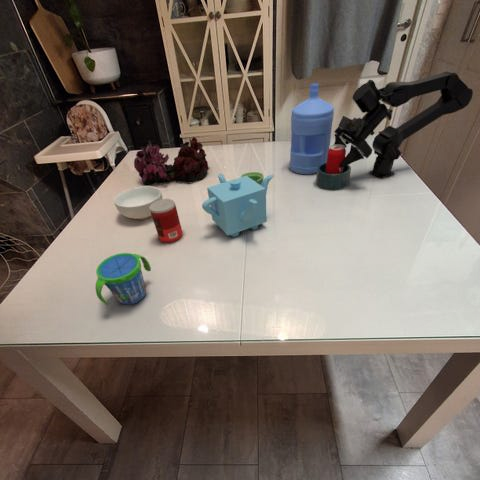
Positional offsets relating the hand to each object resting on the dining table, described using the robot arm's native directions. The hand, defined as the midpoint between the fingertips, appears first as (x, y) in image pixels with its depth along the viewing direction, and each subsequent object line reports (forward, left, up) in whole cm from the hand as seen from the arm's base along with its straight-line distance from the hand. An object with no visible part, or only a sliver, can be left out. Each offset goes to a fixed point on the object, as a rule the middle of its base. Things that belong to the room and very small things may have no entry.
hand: (334, 162), depth 108 cm
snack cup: (+82, +26, -8) cm, 86 cm away
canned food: (+65, +3, -8) cm, 65 cm away
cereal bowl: (+70, -18, -8) cm, 72 cm away
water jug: (-1, -18, -8) cm, 20 cm away
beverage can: (0, 0, -7) cm, 7 cm away
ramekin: (+27, -14, -8) cm, 31 cm away
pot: (0, 0, -7) cm, 7 cm away
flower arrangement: (+51, -43, -8) cm, 67 cm away
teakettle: (+42, +9, -8) cm, 43 cm away
